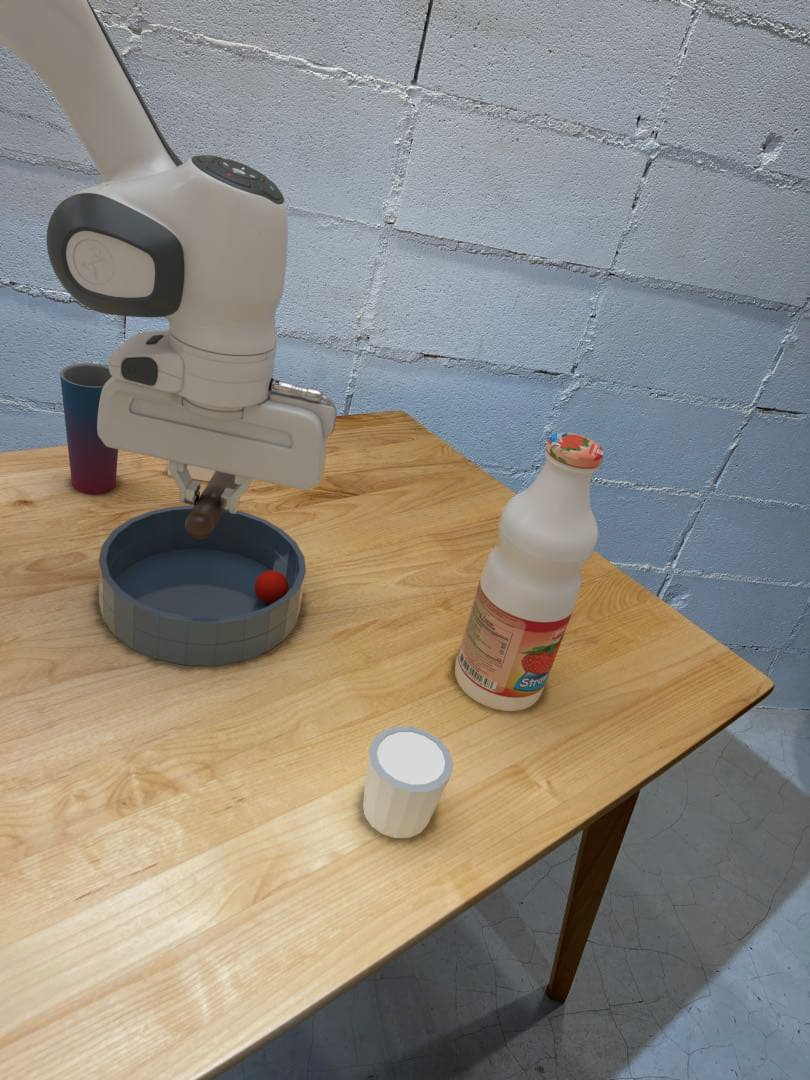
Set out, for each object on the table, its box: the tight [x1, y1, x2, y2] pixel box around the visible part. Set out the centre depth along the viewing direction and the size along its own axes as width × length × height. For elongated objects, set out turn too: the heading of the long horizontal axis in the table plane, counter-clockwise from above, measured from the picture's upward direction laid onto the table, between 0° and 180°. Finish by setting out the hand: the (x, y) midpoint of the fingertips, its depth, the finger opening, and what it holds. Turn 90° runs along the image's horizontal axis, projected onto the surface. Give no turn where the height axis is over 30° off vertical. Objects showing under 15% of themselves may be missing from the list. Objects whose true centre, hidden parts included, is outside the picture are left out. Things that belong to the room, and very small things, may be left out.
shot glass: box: [362, 725, 454, 839], centre depth 67 cm, size 7×7×7 cm
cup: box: [59, 362, 119, 496], centre depth 97 cm, size 7×7×15 cm
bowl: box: [98, 504, 307, 667], centre depth 85 cm, size 20×20×6 cm
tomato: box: [255, 570, 289, 604], centre depth 87 cm, size 4×4×4 cm
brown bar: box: [185, 471, 238, 539], centre depth 79 cm, size 13×3×3 cm, turn 175°
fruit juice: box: [454, 431, 604, 712], centre depth 78 cm, size 9×9×28 cm
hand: (208, 505), depth 77 cm, fingers closed on brown bar, 2 cm apart
